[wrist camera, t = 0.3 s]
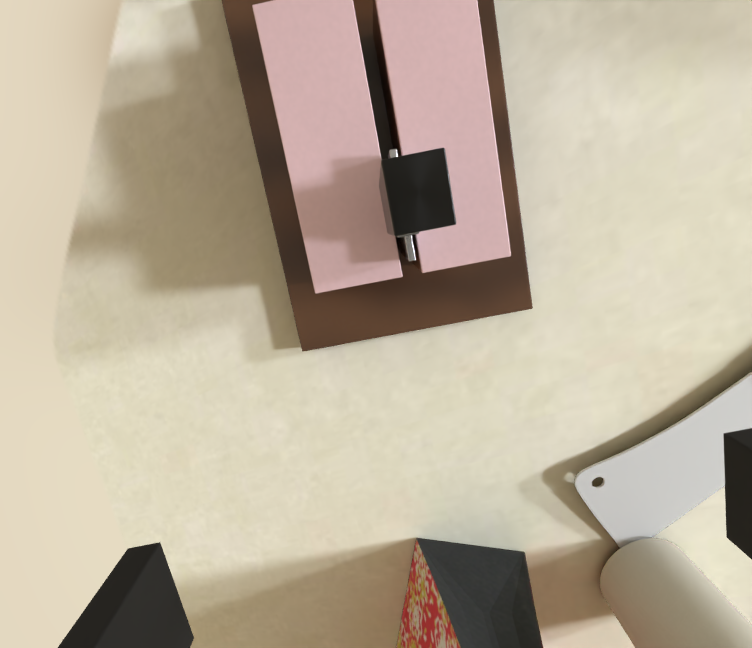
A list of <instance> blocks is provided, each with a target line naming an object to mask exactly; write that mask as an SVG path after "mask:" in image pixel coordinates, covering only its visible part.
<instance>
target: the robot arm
mask: <svg viewBox="0 0 752 648" xmlns="http://www.w3.org/2000/svg"><path fill="white" fill-rule="evenodd" d="M723 437H724V468H725V499H726V530H727V538H728V539H729V540H730V541H732V542H733V543H734V544H735V545H736V546H737V547H738V548H739V549H741V550H742V551H743V552H744V553H745V554H746V555H747V556H749V557H750V558H751V559H752V428H749V429H744V430H739V431H733V432H728V433H723ZM193 639H194V637H193V634H192V631H191V628H190V625H189V623H188V620H187V617H186V614H185V611H184V609H183V606H182V603H181V600H180V597H179V594H178V592H177V589H176V586H175V583H174V580H173V578H172V575H171V572H170V569H169V566H168V563H167V561H166V558H165V555H164V552H163V549H162V546H161V544H160V543H154V544H149V545H144V546H139V547H134V548H129V549H127V551H126V552H125V554H124V555H123V556H122V558H121V559H120V561H119V562H118V563H117V565H116V566H115V568H114V569H113V571H112V572H111V573H110V575H109V576H108V578H107V579H106V580H105V582H104V583H103V585H102V586H101V587H100V589H99V590H98V592H97V593H96V595H95V596H94V597H93V599H92V600H91V602H90V603H89V604H88V606H87V607H86V609H85V610H84V611H83V613H82V614H81V616H80V617H79V619H78V620H77V621H76V623H75V624H74V626H73V627H72V629H71V630H70V631H69V633H68V634H67V636H66V637H65V638H64V640H63V641H62V643H61V644H60V645H59V647H58V648H190V646H191V644H192V641H193Z"/></svg>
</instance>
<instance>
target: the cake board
mask: <svg viewBox="0 0 752 648" xmlns="http://www.w3.org/2000/svg"><path fill="white" fill-rule="evenodd" d="M268 1H273V0H222V4H223V8H224V13H225V17H226V21H227V26H228V30H229V34H230V39H231V43H232V47H233V52H234V56H235V60H236V65H237V69H238V74H239V78H240V82H241V87H242V91H243V95H244V100H245V104H246V108H247V113H248V117H249V121H250V126H251V130H252V134H253V139H254V143H255V147H256V152H257V156H258V160H259V165H260V169H261V173H262V178H263V182H264V186H265V191H266V195H267V200H268V204H269V208H270V213H271V217H272V221H273V226H274V230H275V234H276V239H277V243H278V247H279V252H280V256H281V260H282V265H283V269H284V273H285V278H286V282H287V286H288V291H289V295H290V299H291V304H292V308H293V312H294V317H295V321H296V326H297V330H298V334H299V339H300V343H301V347H302V351H308V350H313V349H319V348H324V347H329V346H335V345H340V344H345V343H351V342H356V341H361V340H367V339H372V338H377V337H383V336H388V335H393V334H399V333H404V332H409V331H415V330H420V329H425V328H431V327H436V326H441V325H447V324H452V323H457V322H463V321H468V320H474V319H479V318H484V317H490V316H495V315H500V314H506V313H511V312H516V311H522V310H527V309H532V308H533V307H532V299H531V292H530V284H529V276H528V268H527V260H526V252H525V244H524V236H523V228H522V221H521V213H520V205H519V197H518V189H517V181H516V173H515V165H514V157H513V150H512V142H511V134H510V126H509V118H508V110H507V102H506V94H505V86H504V79H503V71H502V63H501V55H500V47H499V39H498V31H497V23H496V15H495V8H494V0H477V2H478V10H479V17H480V25H481V33H482V40H483V48H484V55H485V63H486V70H487V78H488V85H489V93H490V100H491V108H492V115H493V123H494V130H495V138H496V145H497V153H498V160H499V168H500V175H501V183H502V190H503V198H504V206H505V213H506V221H507V228H508V236H509V243H510V251H511V256H509V257H504V258H499V259H494V260H488V261H483V262H478V263H473V264H468V265H462V266H457V267H452V268H447V269H441V270H436V271H431V272H426V273H422V272H421V271H420V270H419V269H418V268H417V267H416V266H415V265H413V261H408V260H407V259H406V258H405V257H404V256H403V255H402V254H401V253H400V249H399V244H398V238H397V236H395V237H396V242H397V248H398V253H399V259H400V264H401V270H402V277H400V278H395V279H389V280H384V281H379V282H374V283H368V284H363V285H358V286H353V287H348V288H342V289H337V290H332V291H327V292H321V293H315V290H314V286H313V281H312V277H311V272H310V267H309V263H308V258H307V254H306V249H305V245H304V240H303V235H302V231H301V226H300V222H299V217H298V213H297V208H296V203H295V199H294V194H293V190H292V185H291V181H290V176H289V172H288V167H287V162H286V158H285V153H284V149H283V144H282V140H281V135H280V130H279V126H278V121H277V117H276V112H275V108H274V103H273V98H272V94H271V89H270V85H269V80H268V76H267V71H266V66H265V62H264V57H263V53H262V48H261V44H260V39H259V35H258V30H257V25H256V21H255V16H254V12H253V7H252V5H254V4H259V3H264V2H268ZM353 4H354V9H355V15H356V20H357V26H358V31H359V37H360V42H361V48H362V54H363V59H364V65H365V70H366V76H367V81H368V87H369V92H370V98H371V104H372V109H373V115H374V120H375V126H376V131H377V137H378V142H379V148H380V153H381V159H382V160H383V159H388V155H389V150H391V149H393V147H392V141H391V135H390V129H389V124H388V118H387V112H386V107H385V101H384V95H383V89H382V84H381V78H380V72H379V67H378V61H377V55H376V49H375V44H374V38H373V14H372V0H353Z"/></svg>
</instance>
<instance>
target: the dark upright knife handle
mask: <svg viewBox="0 0 752 648" xmlns="http://www.w3.org/2000/svg"><path fill="white" fill-rule="evenodd" d="M379 190H380V195H381V201H382V206H383V212H384V217H385V223H386V228H387V233H388V234H390V235H393V236H397V238H398V244H399V249H400V253H401V254H402V255H403V256H404V257H405V258H406V259H407V260H408V261H414V260H416V258H415V252H414V247H413V241H412V235H416V234H419V232H421V231H427V230H432V229H437V228H442V227H447V226H452V225H456V217H455V210H454V204H453V197H452V191H451V184H450V178H449V171H448V165H447V158H446V152H445V148H438V149H433V150H428V151H423V152H418V153H413V154H408V155H403V156H398V154H397V149H391V150H389V155H388V159H383V160H381V168H380V178H379Z"/></svg>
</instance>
